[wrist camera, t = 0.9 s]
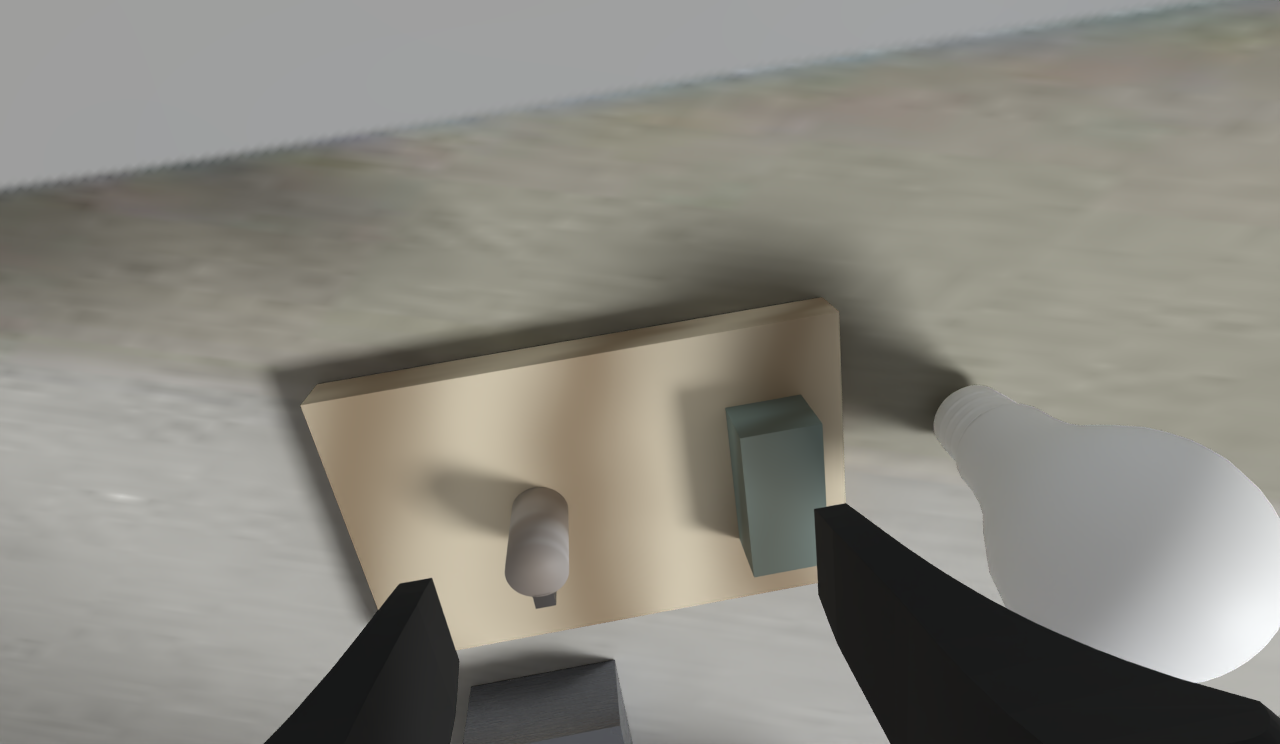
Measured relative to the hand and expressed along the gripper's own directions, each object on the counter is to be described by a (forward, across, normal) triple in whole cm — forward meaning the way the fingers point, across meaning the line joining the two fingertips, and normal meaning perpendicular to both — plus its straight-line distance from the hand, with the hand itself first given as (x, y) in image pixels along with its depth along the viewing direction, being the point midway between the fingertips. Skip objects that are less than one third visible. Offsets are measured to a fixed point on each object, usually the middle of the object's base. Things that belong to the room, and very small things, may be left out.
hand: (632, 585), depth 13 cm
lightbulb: (+10, -12, +4) cm, 16 cm away
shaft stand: (+10, +1, +4) cm, 11 cm away
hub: (+10, +4, +15) cm, 19 cm away
